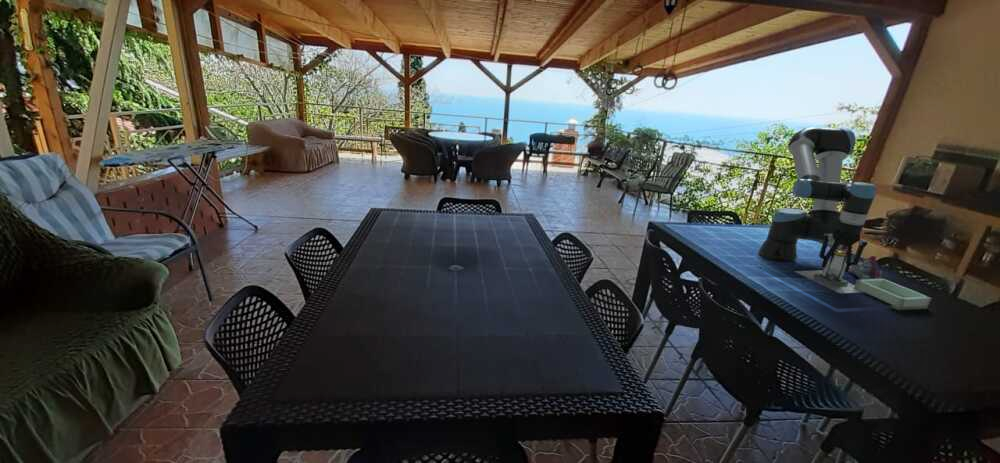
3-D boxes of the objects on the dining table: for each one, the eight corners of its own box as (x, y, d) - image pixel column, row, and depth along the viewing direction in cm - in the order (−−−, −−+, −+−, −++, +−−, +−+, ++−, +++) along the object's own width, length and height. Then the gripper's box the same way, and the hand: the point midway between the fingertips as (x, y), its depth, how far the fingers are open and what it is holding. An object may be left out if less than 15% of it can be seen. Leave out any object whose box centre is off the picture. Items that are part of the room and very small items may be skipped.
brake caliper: (894, 282, 157) (881, 258, 156) (863, 293, 162) (850, 269, 160) (877, 271, 168) (865, 248, 166) (848, 282, 172) (836, 260, 171)
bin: (853, 289, 155) (856, 279, 153) (879, 288, 157) (883, 278, 156) (898, 310, 140) (902, 299, 138) (926, 308, 142) (931, 298, 141)
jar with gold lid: (819, 278, 161) (829, 249, 157) (829, 278, 162) (839, 249, 158) (830, 283, 156) (841, 254, 152) (840, 283, 157) (851, 253, 153)
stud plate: (793, 273, 167) (795, 268, 167) (820, 272, 170) (822, 267, 169) (839, 295, 149) (841, 289, 148) (868, 294, 151) (871, 288, 151)
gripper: (823, 220, 153) (805, 273, 160) (883, 229, 143) (861, 286, 151) (821, 216, 158) (804, 268, 166) (879, 225, 149) (858, 279, 157)
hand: (831, 276), depth 159 cm, fingers open, 4 cm apart
